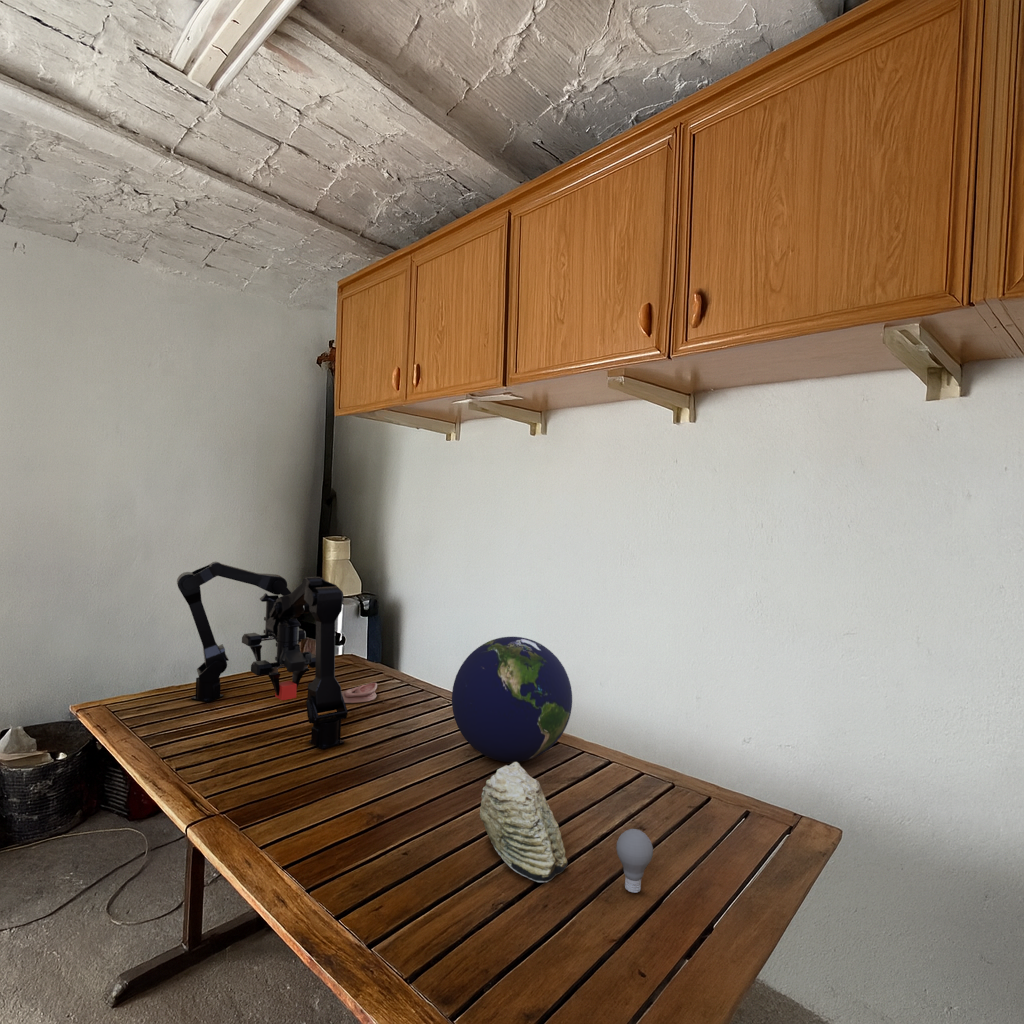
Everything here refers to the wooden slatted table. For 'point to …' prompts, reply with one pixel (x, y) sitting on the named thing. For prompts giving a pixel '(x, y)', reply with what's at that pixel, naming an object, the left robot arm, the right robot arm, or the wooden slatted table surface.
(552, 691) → the globe
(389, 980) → the wooden slatted table surface
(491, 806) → the fossil
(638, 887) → the light bulb
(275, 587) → the left robot arm
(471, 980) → the wooden slatted table surface
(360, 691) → the anatomical model
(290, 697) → the block
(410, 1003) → the wooden slatted table surface
